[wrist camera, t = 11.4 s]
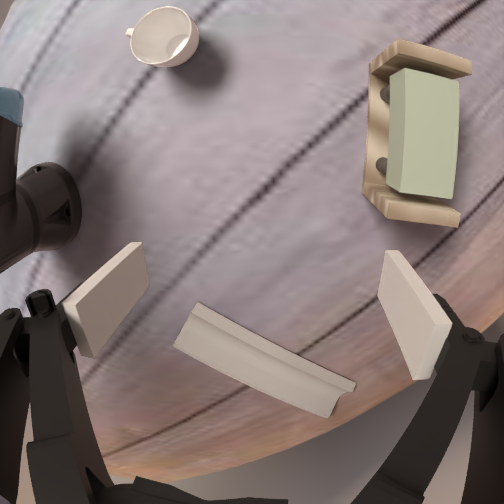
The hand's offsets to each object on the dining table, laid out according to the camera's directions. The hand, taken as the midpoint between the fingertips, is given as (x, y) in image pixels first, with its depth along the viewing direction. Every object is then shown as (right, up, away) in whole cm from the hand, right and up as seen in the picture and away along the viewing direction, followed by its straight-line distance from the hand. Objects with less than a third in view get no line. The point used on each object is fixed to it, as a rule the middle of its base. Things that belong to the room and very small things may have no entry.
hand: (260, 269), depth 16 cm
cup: (-11, +28, +17) cm, 35 cm away
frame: (+18, +16, +17) cm, 29 cm away
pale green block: (+17, +14, +12) cm, 25 cm away
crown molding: (+2, -19, +35) cm, 40 cm away
